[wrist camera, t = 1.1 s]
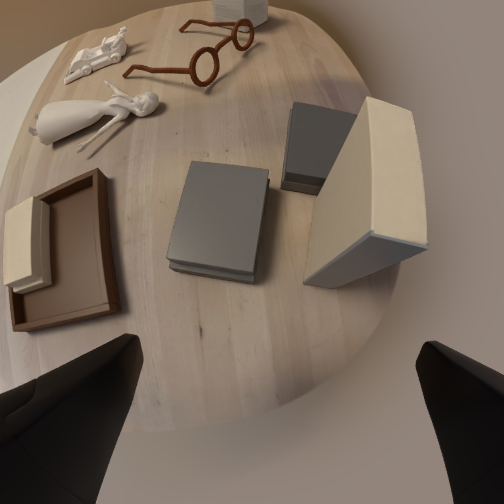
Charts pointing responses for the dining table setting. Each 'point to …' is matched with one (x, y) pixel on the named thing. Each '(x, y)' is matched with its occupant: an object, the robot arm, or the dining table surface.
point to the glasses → (211, 50)
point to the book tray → (73, 259)
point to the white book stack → (27, 246)
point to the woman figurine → (89, 115)
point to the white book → (369, 200)
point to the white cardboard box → (240, 12)
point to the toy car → (97, 56)
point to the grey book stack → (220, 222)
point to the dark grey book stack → (313, 146)
